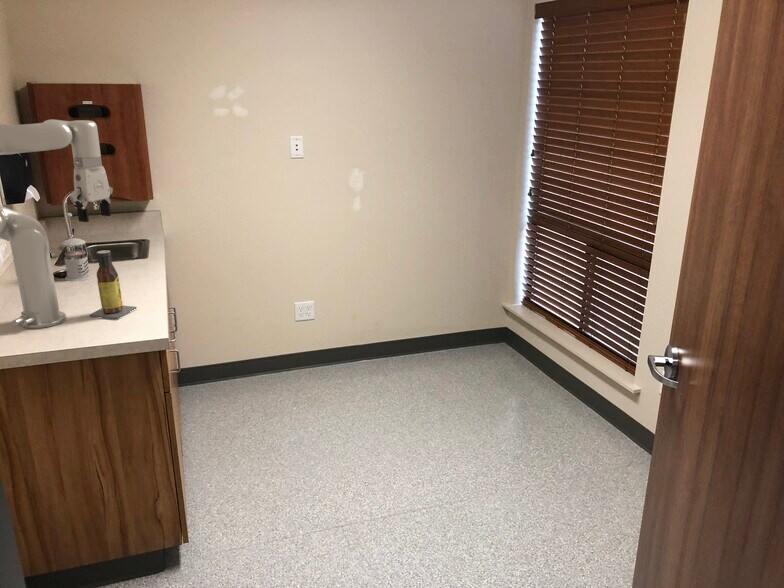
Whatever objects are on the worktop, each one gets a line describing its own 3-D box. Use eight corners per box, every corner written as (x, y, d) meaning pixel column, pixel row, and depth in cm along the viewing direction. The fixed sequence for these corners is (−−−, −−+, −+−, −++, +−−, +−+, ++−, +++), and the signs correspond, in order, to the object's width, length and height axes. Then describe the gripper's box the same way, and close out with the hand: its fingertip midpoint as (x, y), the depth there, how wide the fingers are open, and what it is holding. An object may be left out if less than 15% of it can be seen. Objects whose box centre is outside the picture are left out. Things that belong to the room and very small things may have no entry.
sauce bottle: (126, 311, 194) (118, 252, 187) (107, 315, 189) (98, 255, 183) (117, 305, 198) (109, 248, 191) (98, 310, 193) (89, 251, 187)
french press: (59, 281, 223) (47, 215, 215) (76, 271, 234) (66, 209, 226) (84, 281, 223) (74, 216, 215) (100, 272, 234) (91, 209, 226)
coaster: (117, 319, 189) (117, 317, 188) (89, 316, 190) (89, 314, 190) (136, 309, 198) (136, 306, 197) (110, 306, 200) (109, 303, 199)
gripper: (77, 166, 172) (85, 225, 177) (117, 160, 187) (124, 214, 193) (55, 165, 173) (64, 223, 179) (97, 159, 189) (104, 212, 195)
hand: (95, 218), depth 186 cm, fingers open, 9 cm apart
